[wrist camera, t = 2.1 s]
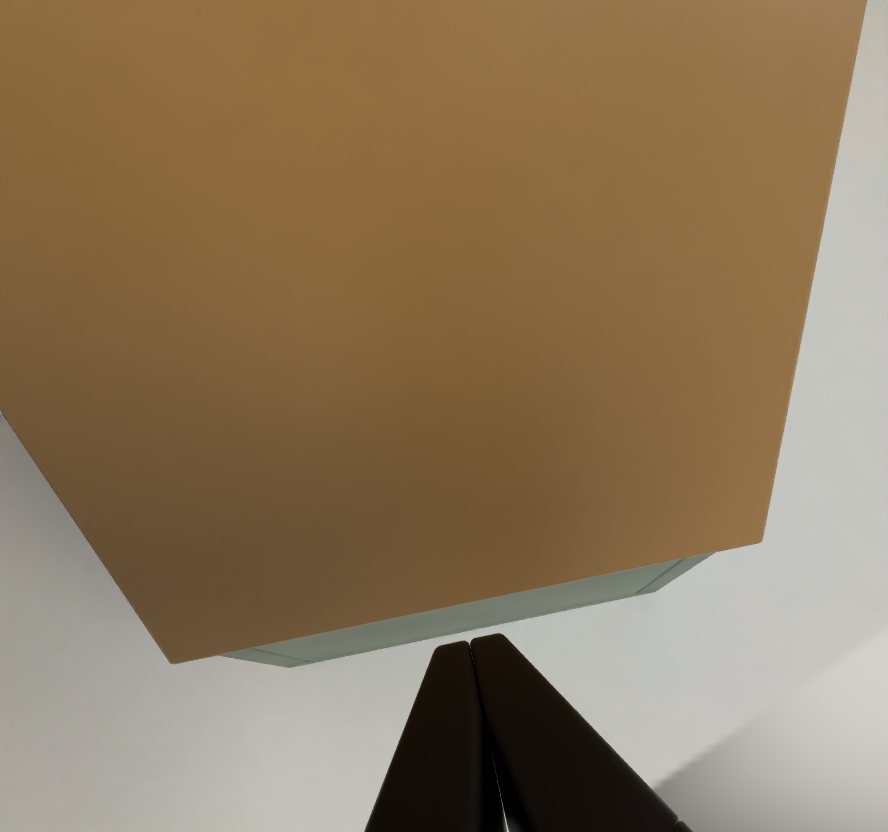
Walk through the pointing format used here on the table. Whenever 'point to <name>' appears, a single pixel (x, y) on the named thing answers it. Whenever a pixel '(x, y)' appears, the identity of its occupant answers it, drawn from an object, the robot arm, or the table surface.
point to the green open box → (469, 616)
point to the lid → (406, 289)
